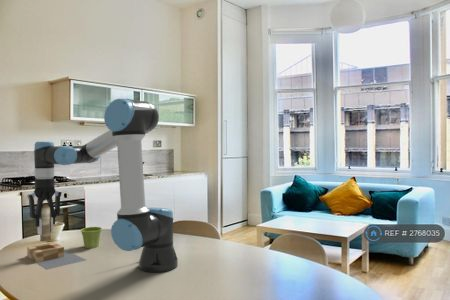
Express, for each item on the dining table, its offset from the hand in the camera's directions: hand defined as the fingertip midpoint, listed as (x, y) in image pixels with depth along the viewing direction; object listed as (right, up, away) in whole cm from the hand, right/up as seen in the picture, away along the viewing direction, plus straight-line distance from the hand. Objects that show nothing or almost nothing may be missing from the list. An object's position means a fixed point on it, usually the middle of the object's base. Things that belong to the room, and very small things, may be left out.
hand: (45, 233), depth 162 cm
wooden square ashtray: (0, -10, 0) cm, 10 cm away
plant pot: (+14, -10, +16) cm, 24 cm away
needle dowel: (0, -3, 0) cm, 3 cm away
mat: (+5, -11, -2) cm, 12 cm away
